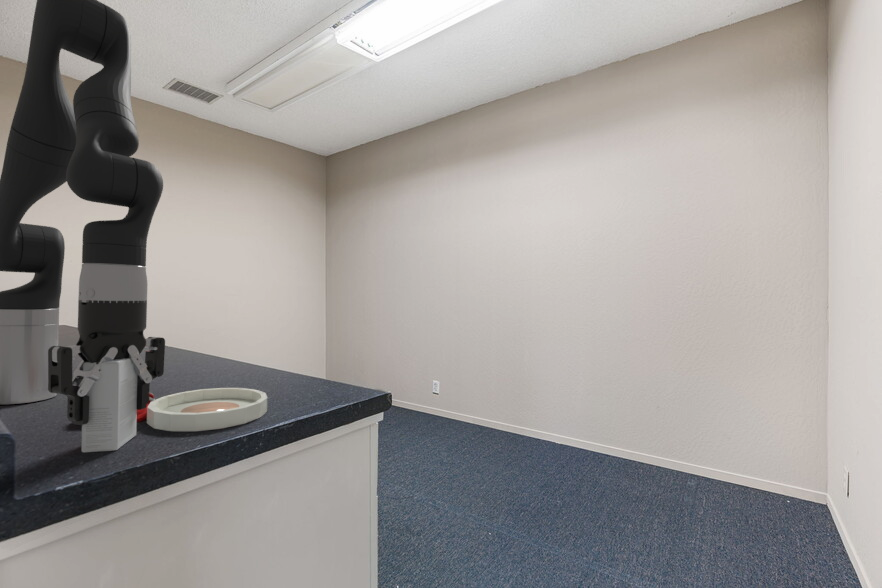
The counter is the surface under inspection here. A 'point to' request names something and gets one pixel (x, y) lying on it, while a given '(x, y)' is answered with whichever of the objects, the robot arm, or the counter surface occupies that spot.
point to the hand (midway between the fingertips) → (110, 415)
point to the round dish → (206, 409)
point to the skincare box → (111, 407)
